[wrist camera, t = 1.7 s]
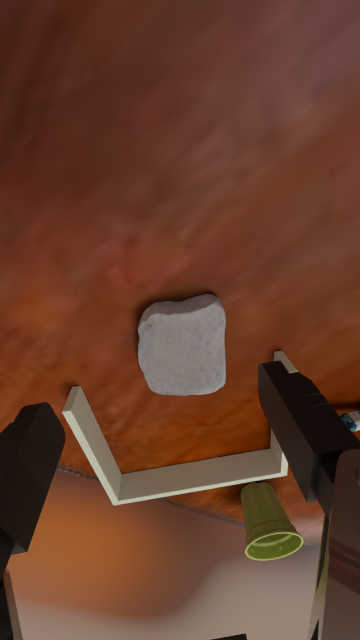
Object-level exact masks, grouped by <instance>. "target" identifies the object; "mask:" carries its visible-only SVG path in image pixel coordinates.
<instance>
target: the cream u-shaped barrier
mask: <svg viewBox="0 0 360 640" xmlns="http://www.w3.org/2000/svg"><path fill="white" fill-rule="evenodd" d="M277 360H280V361H281V362H282V363H283V364H284V366H285V367H286V369H287V370H288V372H289V373H292V372H297V370H296V369H295V367H294V366H293V365H292V363H291V362H290V361H289V359H288V358H287V357H286V355H285V354H284V353H283V351H276V352H274V361H277ZM62 413H63V415H64V416H65V418H66V420H67V422H68V424H69V425H70V427H71V429H72V431H73V433H74V435H75V436H76V438H77V440H78V442H79V444H80V445H81V447H82V449H83V451H84V453H85V455H86V456H87V458H88V460H89V462H90V464H91V465H92V467H93V469H94V471H95V473H96V474H97V476H98V478H99V480H100V482H101V484H102V485H103V487H104V489H105V491H106V492H107V494H108V496H109V498H110V500H111V502H112V503H113V505H119V504H125V503H131V502H137V501H142V500H148V499H154V498H160V497H165V496H171V495H177V494H183V493H189V492H194V491H200V490H206V489H212V488H217V487H223V486H229V485H235V484H240V483H246V482H252V481H258V480H264V479H269V478H275V477H281V476H287V469H288V462H287V460H286V458H285V456H284V454H283V451H282V449H281V447H280V445H279V443H278V441H277V439H276V437H275V435H274V432H273V430H272V428H271V444H270V449H265V450H259V451H253V452H247V453H242V454H236V455H230V456H224V457H218V458H213V459H207V460H201V461H195V462H190V463H184V464H178V465H172V466H167V467H161V468H155V469H149V470H143V471H138V472H132V473H126V474H121V472H120V470H119V468H118V466H117V464H116V462H115V459H114V457H113V455H112V453H111V451H110V449H109V447H108V444H107V442H106V440H105V438H104V436H103V434H102V432H101V429H100V427H99V425H98V423H97V421H96V419H95V417H94V414H93V412H92V410H91V408H90V406H89V404H88V401H87V399H86V397H85V395H84V393H83V391H82V389H81V386H75V387H72V389H71V391H70V394H69V396H68V399H67V401H66V404H65V406H64V409H63V411H62Z"/></svg>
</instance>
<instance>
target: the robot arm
mask: <svg viewBox="0 0 360 640" xmlns="http://www.w3.org/2000/svg"><path fill="white" fill-rule="evenodd" d="M258 390H259V399H260V403H261V407H262V409H263V411H264V414H265V416H266V418H267V420H268V422H269V424H270V426H271V428H272V430H273V432H274V435H275V437H276V439H277V441H278V443H279V445H280V447H281V449H282V451H283V454H284V456H285V458H286V460H287V462H288V464H289V466H290V468H291V470H292V473H293V475H294V477H295V479H296V481H297V483H298V485H299V487H300V489H301V492H302V494H303V496H304V498H305V500H306V502H313V501H319V503H320V505H321V507H322V509H323V511H324V513H325V516H324V523H323V531H322V539H321V547H320V555H319V563H318V571H317V578H316V586H315V593H314V601H313V605H312V612H311V618H310V625H309V632H308V640H360V442H359V440H358V439H357V438H356V436H355V435H354V434H353V433H352V431H351V430H350V429H349V428H348V426H347V425H346V424H345V423H344V421H343V420H342V419H341V417H340V416H339V415H338V414H337V412H336V411H335V410H334V409H333V407H332V406H331V405H330V404H328V401H327V400H326V399H325V397H324V396H323V395H322V394H321V393H320V391H319V390H318V388H317V387H316V386H315V385H314V383H313V382H312V381H311V380H310V379H308V378H307V377H305V376H304V375H302V374H301V373H299V372H292V373H289V372H288V370H287V369H286V367H285V366H284V364H283V363H282V362H281V361H280V360H277V361H272V362H266V363H261V364H259V366H258ZM64 444H65V431H64V428H63V426H62V425H61V423H60V421H59V419H58V418H57V416H56V414H55V412H54V411H53V409H52V407H51V406H50V404H49V403H47V402H44V403H38V404H33V405H27V406H24V407H23V408H22V409H21V410H20V412H19V414H18V415H17V417H16V419H15V420H14V422H13V423H10V424H9V425H8V426H7V427H6V428H5V429H4V430H3V431H2V432H1V433H0V640H23V638H22V633H21V629H20V623H19V619H18V613H17V608H16V603H15V598H14V593H13V589H12V583H11V578H10V573H9V570H8V569H7V568H6V566H7V563H8V560H9V558H10V556H11V555H13V554H18V553H23V552H27V551H28V548H29V545H30V542H31V539H32V536H33V534H34V531H35V528H36V525H37V522H38V519H39V516H40V513H41V510H42V508H43V505H44V502H45V499H46V496H47V493H48V490H49V488H50V484H51V482H52V479H53V476H54V473H55V470H56V467H57V465H58V462H59V459H60V456H61V453H62V450H63V447H64ZM212 640H247V638H246V634H240V635H235V636H229V637H223V638H219V639H212Z"/></svg>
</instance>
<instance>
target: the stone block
mask: <svg viewBox="0 0 360 640" xmlns="http://www.w3.org/2000/svg"><path fill="white" fill-rule="evenodd" d="M225 325H226V317H225V312H224V309H223V307H222V304H221V302H220V300H219V299H218V298H217V297H216V296H214V295H210V294H204V295H199V296H195V297H193V298H189V299H186V300H184V301H181V302H171V301H164V302H156V303H153V304H152V305H151V306H150V307H148V308H147V309H146V310H145V311H144V313H143V315H142V317H141V319H140V322H139V326H138V333H139V342H138V360H139V365H140V367H141V369H142V371H143V372H144V377H145V378H146V380H147V383H148V386H149V388H150V389H151V390H152V391H153V392H156V393H159V394H162V395H183V396H187V395H191V394H197V395H201V394H209V393H212V392H215V391H217V390H218V389H219V388H222V387H223V385H224V384H225V378H226V369H225V366H226V364H225V348H224V335H225V334H224V330H225Z"/></svg>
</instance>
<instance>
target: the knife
mask: <svg viewBox="0 0 360 640" xmlns="http://www.w3.org/2000/svg"><path fill="white" fill-rule="evenodd" d="M339 416H340V417H341V419H342V420H343V421H344V423H345V424H346V425H347V426H348V428H349V429H350V430H351V431H352V432H354V431H357V430H360V411H355V412H350V413H345V414H339Z"/></svg>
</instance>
